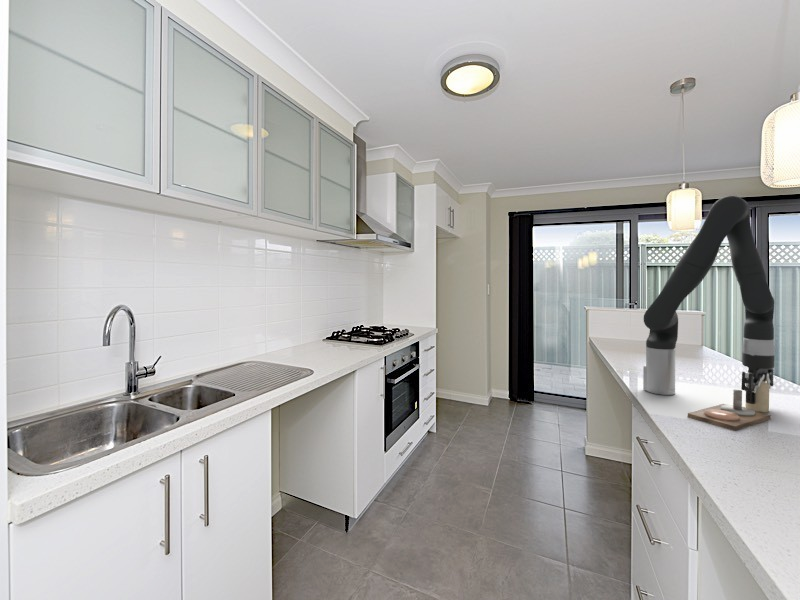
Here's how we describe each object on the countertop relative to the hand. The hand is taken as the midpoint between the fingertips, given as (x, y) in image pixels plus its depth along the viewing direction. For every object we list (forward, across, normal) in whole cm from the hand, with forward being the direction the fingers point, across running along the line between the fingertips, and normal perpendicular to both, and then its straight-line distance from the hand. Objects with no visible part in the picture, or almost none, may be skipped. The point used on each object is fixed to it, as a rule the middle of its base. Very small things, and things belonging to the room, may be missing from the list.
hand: (757, 401), depth 120 cm
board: (+3, +17, 0) cm, 17 cm away
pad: (+2, +21, 0) cm, 21 cm away
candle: (+3, 0, 0) cm, 3 cm away
